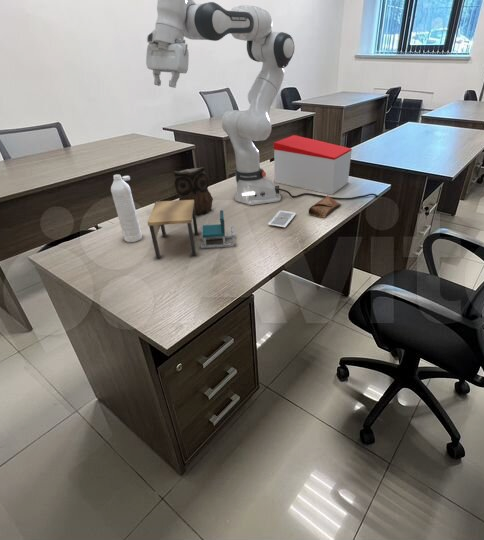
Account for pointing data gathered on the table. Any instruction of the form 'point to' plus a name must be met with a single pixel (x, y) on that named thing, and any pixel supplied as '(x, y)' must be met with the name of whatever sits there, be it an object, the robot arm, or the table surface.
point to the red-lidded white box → (311, 164)
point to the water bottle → (125, 208)
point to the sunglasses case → (323, 207)
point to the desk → (172, 219)
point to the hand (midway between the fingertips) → (164, 86)
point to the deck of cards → (282, 218)
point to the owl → (194, 189)
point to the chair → (217, 233)
